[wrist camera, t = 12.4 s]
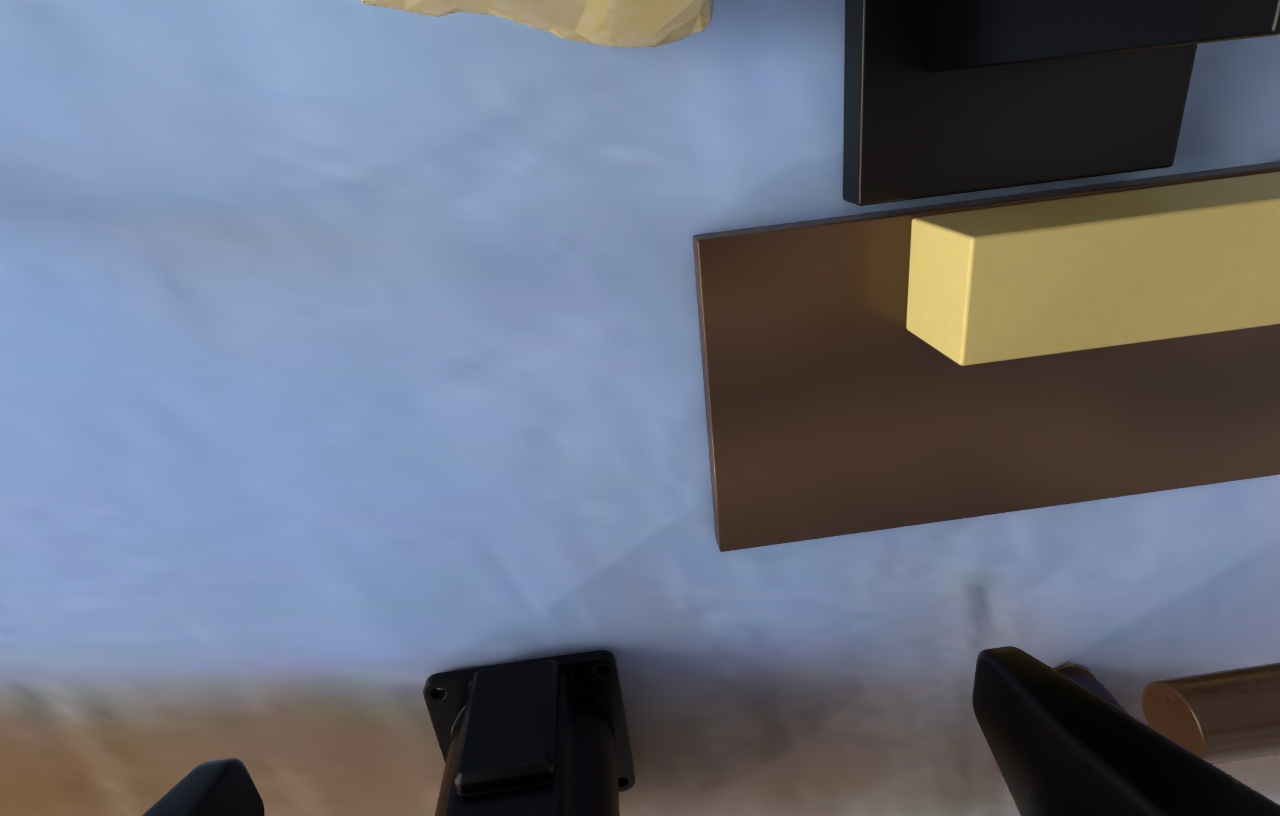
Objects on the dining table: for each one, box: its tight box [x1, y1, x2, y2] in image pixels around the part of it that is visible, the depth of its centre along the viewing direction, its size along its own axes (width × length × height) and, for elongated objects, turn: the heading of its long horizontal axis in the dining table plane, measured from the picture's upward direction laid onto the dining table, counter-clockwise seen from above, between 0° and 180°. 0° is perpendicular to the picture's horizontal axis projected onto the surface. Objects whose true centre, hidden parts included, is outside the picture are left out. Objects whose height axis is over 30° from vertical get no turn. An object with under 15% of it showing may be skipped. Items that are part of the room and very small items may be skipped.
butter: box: [906, 172, 1280, 366], centre depth 17 cm, size 3×10×3 cm, turn 96°
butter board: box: [693, 162, 1280, 552], centre depth 20 cm, size 10×18×1 cm, turn 96°
